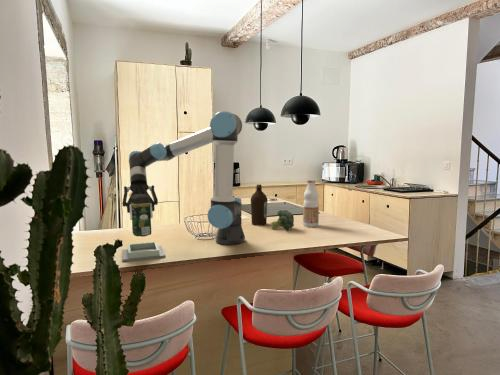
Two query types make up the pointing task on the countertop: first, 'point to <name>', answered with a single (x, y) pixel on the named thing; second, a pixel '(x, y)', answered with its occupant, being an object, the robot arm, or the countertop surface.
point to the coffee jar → (141, 215)
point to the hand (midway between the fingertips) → (141, 217)
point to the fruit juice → (311, 205)
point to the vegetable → (284, 220)
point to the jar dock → (142, 251)
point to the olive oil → (259, 207)
